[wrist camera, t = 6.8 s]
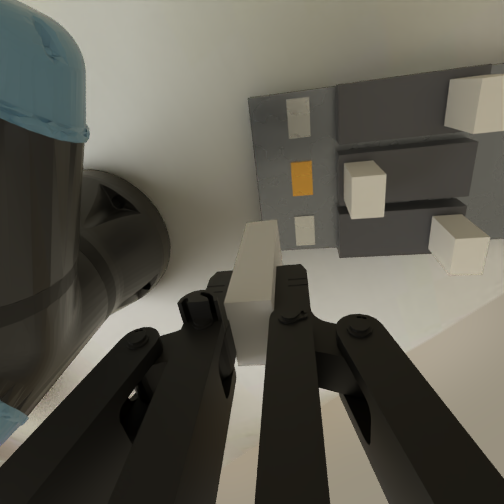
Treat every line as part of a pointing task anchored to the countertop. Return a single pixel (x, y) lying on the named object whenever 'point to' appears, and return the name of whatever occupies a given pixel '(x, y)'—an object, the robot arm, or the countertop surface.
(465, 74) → the breaker housings
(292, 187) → the panel
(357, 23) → the countertop surface
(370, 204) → the handle
